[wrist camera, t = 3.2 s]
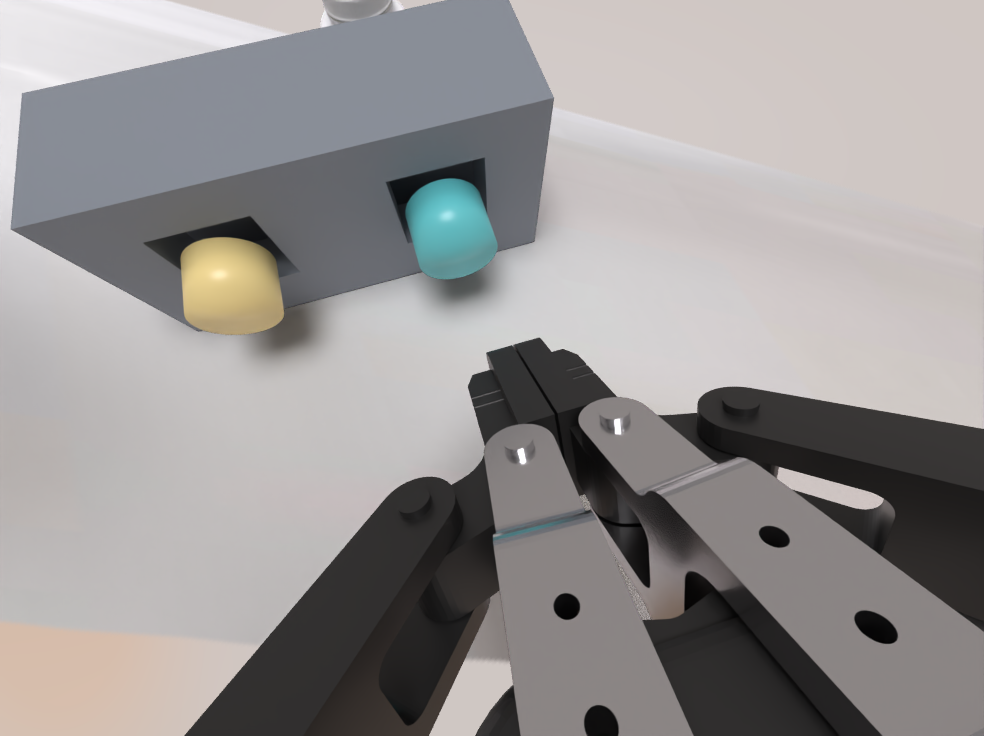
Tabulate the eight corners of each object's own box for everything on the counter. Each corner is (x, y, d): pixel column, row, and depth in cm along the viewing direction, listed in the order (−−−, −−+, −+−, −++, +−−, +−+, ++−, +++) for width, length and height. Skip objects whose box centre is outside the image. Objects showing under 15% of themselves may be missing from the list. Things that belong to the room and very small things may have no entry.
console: (534, 241, 29) (554, 97, 18) (198, 331, 27) (10, 229, 17) (501, 157, 31) (502, -13, 21) (190, 235, 30) (22, 93, 19)
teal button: (497, 267, 24) (497, 219, 20) (426, 286, 24) (410, 241, 20) (482, 224, 25) (479, 169, 21) (414, 242, 25) (396, 190, 20)
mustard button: (298, 321, 23) (254, 282, 19) (222, 342, 23) (160, 307, 19) (291, 274, 24) (247, 228, 20) (217, 293, 24) (157, 250, 20)
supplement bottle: (419, 164, 31) (384, 15, 22) (352, 154, 32) (286, 3, 22) (437, 111, 33) (411, -50, 23) (372, 102, 33) (320, -61, 24)
